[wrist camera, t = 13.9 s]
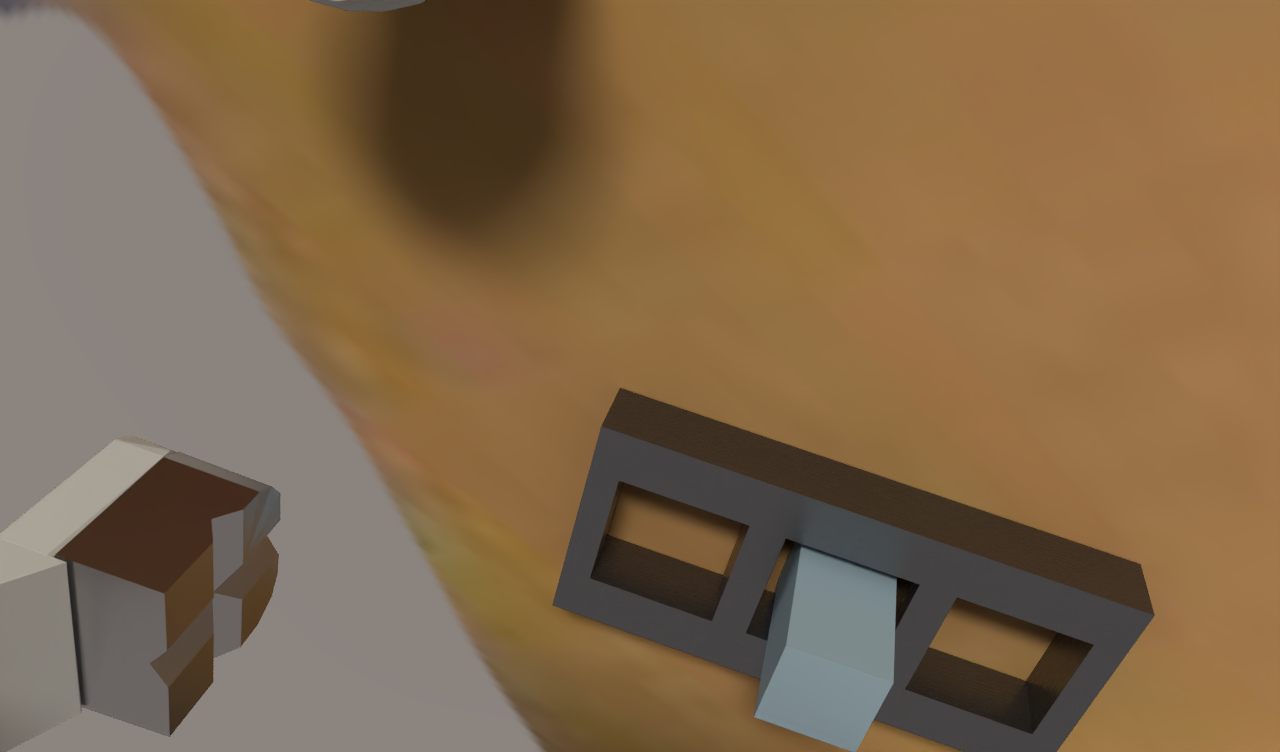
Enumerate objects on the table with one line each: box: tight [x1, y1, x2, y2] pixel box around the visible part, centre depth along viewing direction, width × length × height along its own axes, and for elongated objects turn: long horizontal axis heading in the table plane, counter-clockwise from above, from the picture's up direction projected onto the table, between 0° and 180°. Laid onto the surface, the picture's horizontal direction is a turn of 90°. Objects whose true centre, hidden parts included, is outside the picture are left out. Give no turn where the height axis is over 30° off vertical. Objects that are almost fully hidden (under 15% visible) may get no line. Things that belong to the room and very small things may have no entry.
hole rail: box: [553, 388, 1155, 752], centre depth 44 cm, size 22×10×3 cm, turn 76°
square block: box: [754, 541, 897, 752], centre depth 42 cm, size 4×4×8 cm
